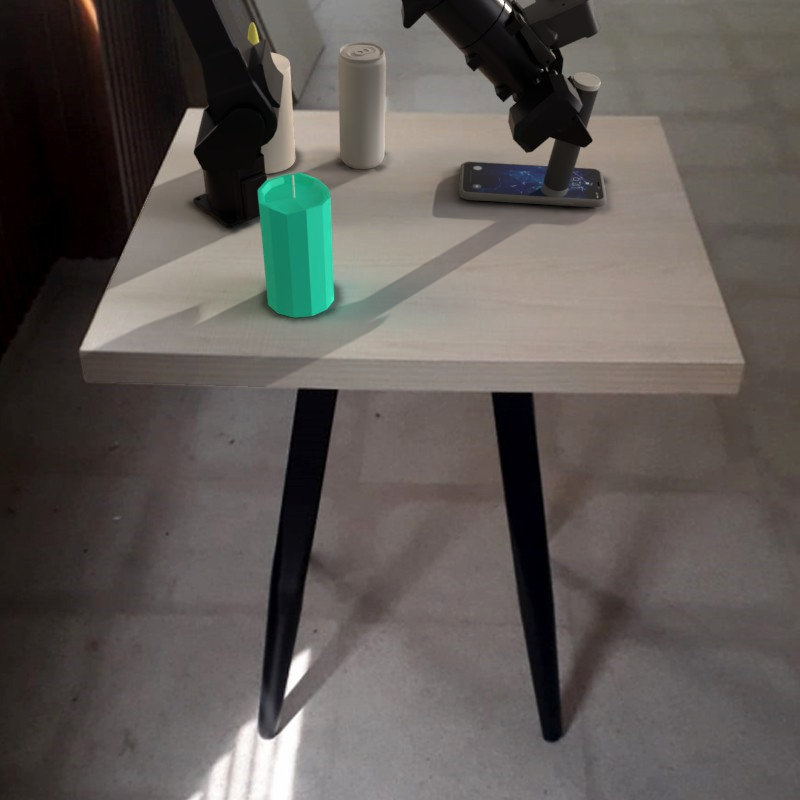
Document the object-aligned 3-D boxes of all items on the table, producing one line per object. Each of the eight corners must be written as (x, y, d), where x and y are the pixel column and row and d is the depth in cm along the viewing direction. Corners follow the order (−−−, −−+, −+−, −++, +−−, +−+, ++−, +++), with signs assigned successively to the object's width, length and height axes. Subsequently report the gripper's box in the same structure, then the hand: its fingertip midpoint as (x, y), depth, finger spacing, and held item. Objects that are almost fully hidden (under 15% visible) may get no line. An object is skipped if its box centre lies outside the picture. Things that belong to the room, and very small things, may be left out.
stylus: (537, 199, 97) (571, 82, 87) (542, 186, 98) (575, 69, 89) (562, 206, 96) (599, 89, 87) (566, 192, 98) (602, 76, 89)
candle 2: (274, 275, 87) (264, 154, 79) (339, 280, 87) (335, 160, 78) (259, 314, 82) (247, 191, 74) (328, 320, 82) (323, 197, 74)
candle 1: (300, 146, 105) (293, 8, 95) (289, 175, 100) (280, 33, 90) (244, 142, 106) (231, 4, 96) (230, 171, 101) (214, 29, 91)
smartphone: (460, 159, 102) (602, 167, 101) (460, 167, 102) (600, 175, 102) (458, 193, 96) (608, 202, 95) (457, 202, 97) (606, 210, 96)
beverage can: (331, 159, 103) (327, 49, 95) (364, 145, 106) (364, 37, 98) (359, 176, 101) (359, 64, 93) (393, 161, 103) (396, 52, 95)
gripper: (571, -6, 74) (681, 126, 82) (535, -79, 88) (632, 39, 96) (464, 92, 79) (578, 207, 87) (445, 8, 93) (545, 114, 101)
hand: (585, 136), depth 92 cm, fingers closed on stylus, 3 cm apart
